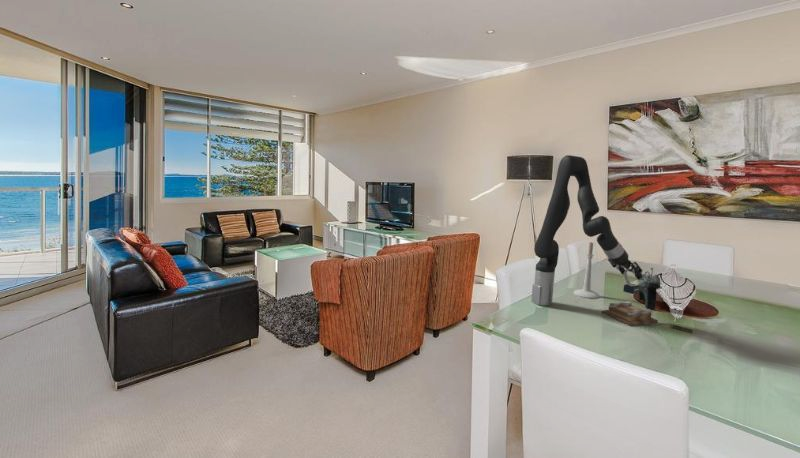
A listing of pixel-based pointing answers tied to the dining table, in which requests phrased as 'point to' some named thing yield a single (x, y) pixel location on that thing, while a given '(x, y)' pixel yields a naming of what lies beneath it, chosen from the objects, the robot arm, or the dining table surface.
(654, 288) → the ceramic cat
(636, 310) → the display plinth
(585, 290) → the candlestick
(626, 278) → the watch
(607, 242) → the robot arm
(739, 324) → the dining table surface
